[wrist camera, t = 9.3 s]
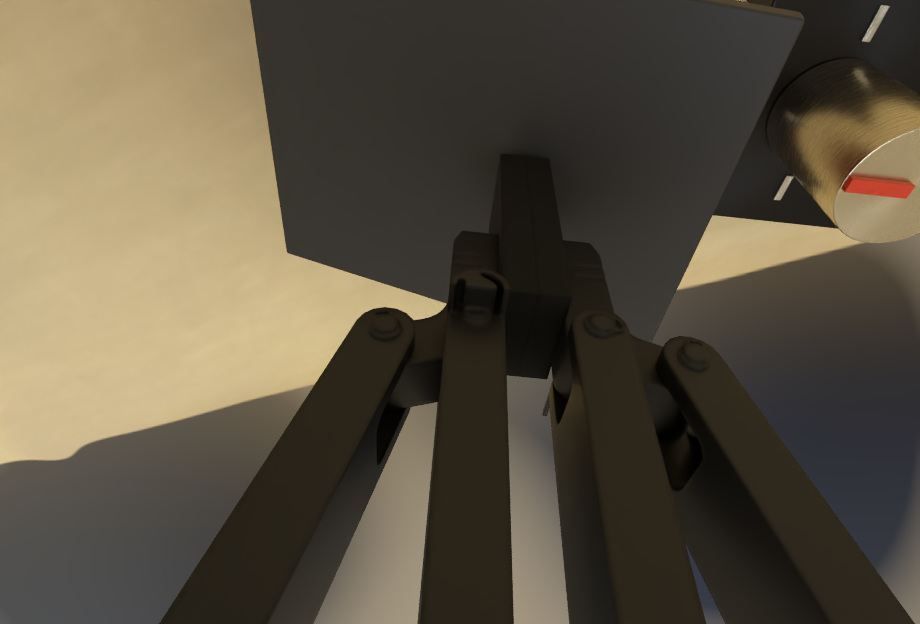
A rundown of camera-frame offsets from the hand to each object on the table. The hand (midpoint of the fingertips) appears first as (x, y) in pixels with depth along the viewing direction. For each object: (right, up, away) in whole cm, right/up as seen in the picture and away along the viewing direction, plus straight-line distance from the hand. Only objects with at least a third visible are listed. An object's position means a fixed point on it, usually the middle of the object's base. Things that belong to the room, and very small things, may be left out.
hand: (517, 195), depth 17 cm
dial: (+15, +6, +8) cm, 18 cm away
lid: (-1, +1, +1) cm, 2 cm away
